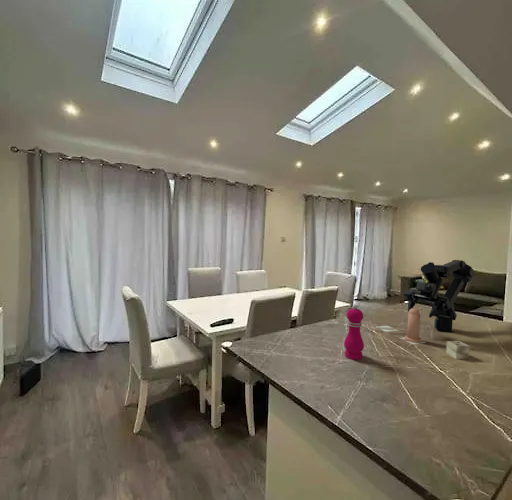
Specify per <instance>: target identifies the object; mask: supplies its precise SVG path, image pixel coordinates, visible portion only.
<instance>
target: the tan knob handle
mask: <svg viewBox="0 0 512 500" xmlns="http://www.w3.org/2000/svg"><path fill="white" fill-rule="evenodd" d="M407 312H408V311H407ZM420 325H421V313H420V310H419V309H418V308H415V307H413V308H412V309H410V310H409V312H408V313H407V327H406V328H407V331H406V334H407V335H406V336H405V337H404V338H405V340H407V341H409V342H413V343H420V342H421V340H422V338H421V337H420V327H421V326H420ZM407 341H406V342H407ZM409 342H408V343H409ZM420 344H421V343H420Z"/></svg>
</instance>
